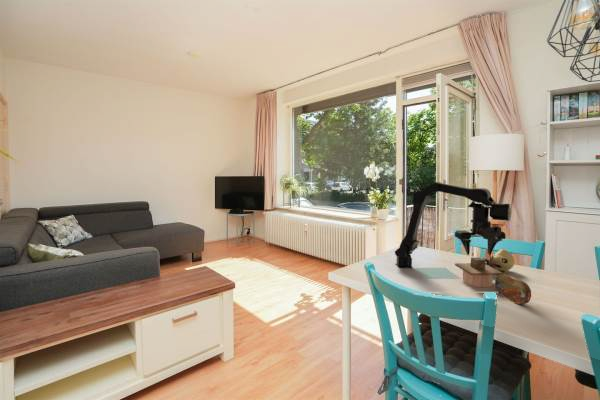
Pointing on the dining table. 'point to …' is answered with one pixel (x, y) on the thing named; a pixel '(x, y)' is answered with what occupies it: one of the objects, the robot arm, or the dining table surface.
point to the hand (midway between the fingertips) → (478, 254)
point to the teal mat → (437, 273)
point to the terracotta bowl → (477, 280)
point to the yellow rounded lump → (502, 260)
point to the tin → (513, 289)
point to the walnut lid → (478, 267)
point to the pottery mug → (489, 263)
